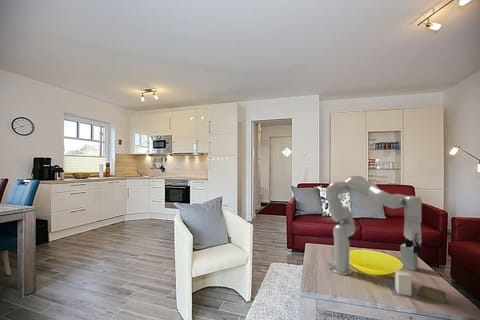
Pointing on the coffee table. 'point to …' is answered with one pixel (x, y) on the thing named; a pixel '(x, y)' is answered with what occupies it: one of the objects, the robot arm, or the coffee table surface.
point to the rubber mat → (391, 286)
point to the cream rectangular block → (403, 282)
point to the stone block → (432, 294)
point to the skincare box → (408, 258)
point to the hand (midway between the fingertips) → (412, 250)
